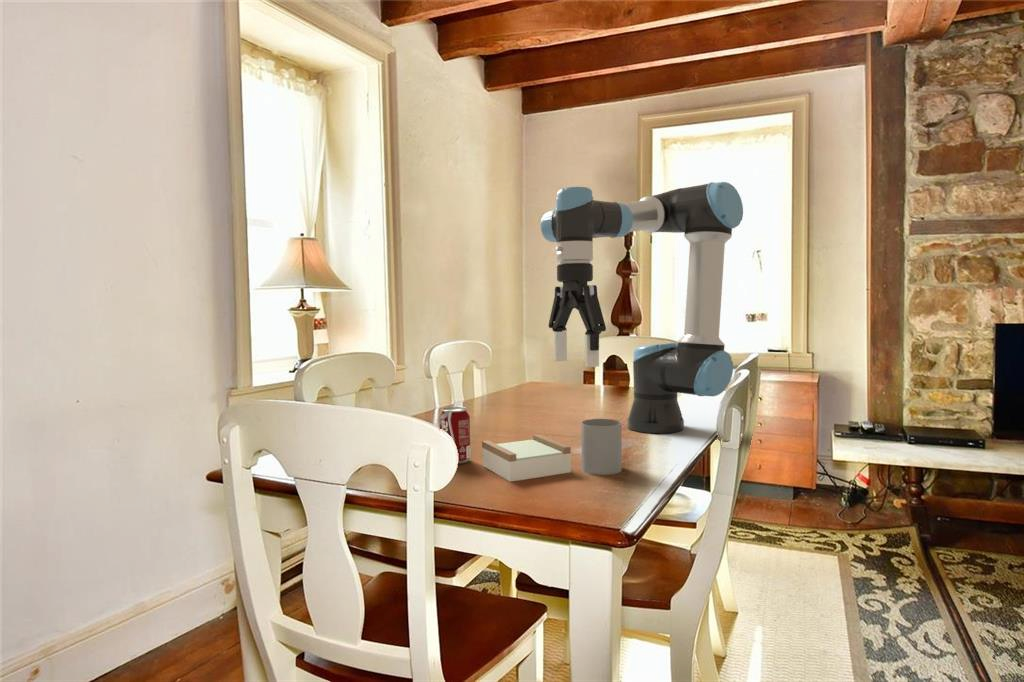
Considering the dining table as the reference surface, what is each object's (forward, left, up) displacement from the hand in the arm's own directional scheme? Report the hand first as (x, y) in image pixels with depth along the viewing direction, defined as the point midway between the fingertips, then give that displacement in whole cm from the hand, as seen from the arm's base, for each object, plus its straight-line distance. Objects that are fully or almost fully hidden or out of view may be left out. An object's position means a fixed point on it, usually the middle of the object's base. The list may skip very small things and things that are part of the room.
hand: (575, 363), depth 136 cm
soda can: (+21, -17, -22) cm, 35 cm away
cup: (-4, +4, -22) cm, 23 cm away
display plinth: (+10, -4, -22) cm, 25 cm away
